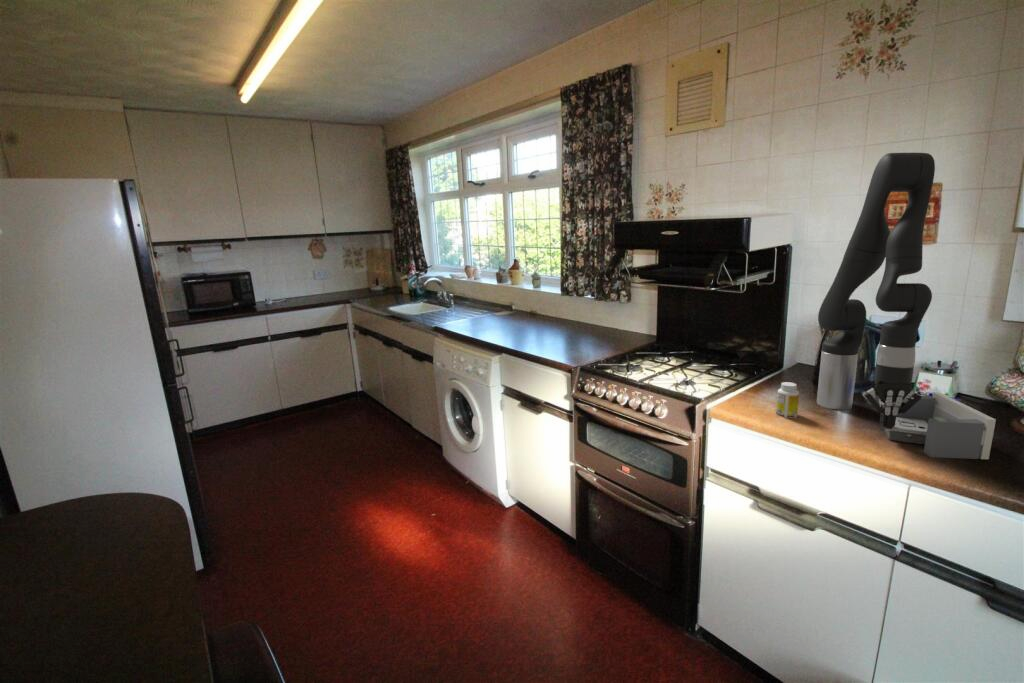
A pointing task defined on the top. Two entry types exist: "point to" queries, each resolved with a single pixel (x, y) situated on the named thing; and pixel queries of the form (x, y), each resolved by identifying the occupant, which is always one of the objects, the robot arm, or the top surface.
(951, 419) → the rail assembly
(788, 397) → the supplement bottle
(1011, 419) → the top surface
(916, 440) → the electrical switch
